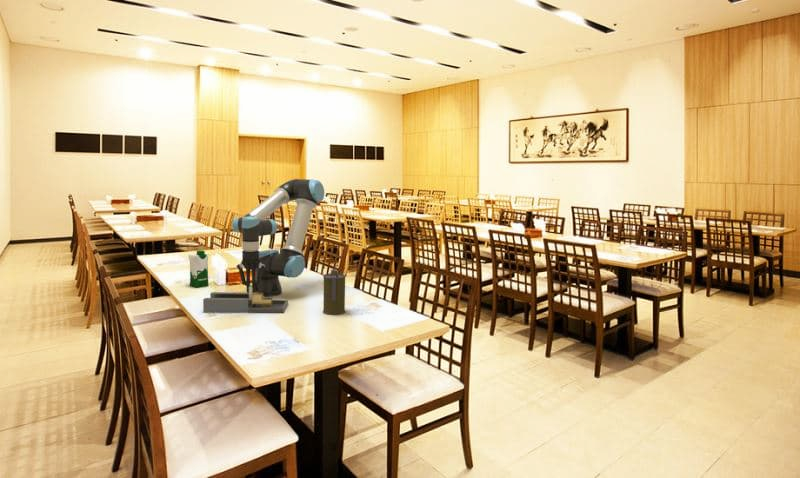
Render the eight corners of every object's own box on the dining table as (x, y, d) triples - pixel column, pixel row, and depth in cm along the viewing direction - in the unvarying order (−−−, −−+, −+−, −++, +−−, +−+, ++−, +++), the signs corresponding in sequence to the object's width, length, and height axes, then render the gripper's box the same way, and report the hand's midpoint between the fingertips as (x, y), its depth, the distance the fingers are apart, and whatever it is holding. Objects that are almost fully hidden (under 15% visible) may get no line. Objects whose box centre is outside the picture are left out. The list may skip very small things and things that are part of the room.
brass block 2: (263, 306, 239) (272, 306, 239) (261, 309, 234) (271, 309, 235) (263, 297, 238) (272, 297, 239) (261, 299, 234) (271, 299, 234)
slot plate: (254, 304, 244) (254, 292, 243) (248, 312, 230) (248, 299, 229) (212, 304, 242) (212, 292, 241) (203, 312, 228) (203, 299, 227)
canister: (323, 308, 240) (323, 267, 237) (345, 308, 241) (346, 268, 238) (322, 315, 229) (322, 272, 226) (344, 315, 230) (345, 272, 227)
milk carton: (196, 288, 272) (195, 252, 269) (187, 286, 277) (186, 250, 274) (211, 286, 279) (210, 250, 276) (201, 283, 284) (200, 248, 281)
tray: (288, 304, 245) (288, 300, 245) (283, 313, 230) (283, 308, 230) (254, 304, 244) (254, 299, 244) (247, 312, 229) (247, 308, 229)
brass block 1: (263, 301, 239) (263, 292, 238) (261, 304, 234) (261, 294, 234) (253, 301, 238) (253, 292, 238) (251, 304, 234) (251, 294, 233)
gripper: (266, 249, 237) (266, 297, 240) (238, 248, 236) (239, 297, 239) (263, 251, 230) (263, 301, 233) (234, 251, 229) (235, 301, 232)
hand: (251, 299), depth 236 cm, fingers closed
